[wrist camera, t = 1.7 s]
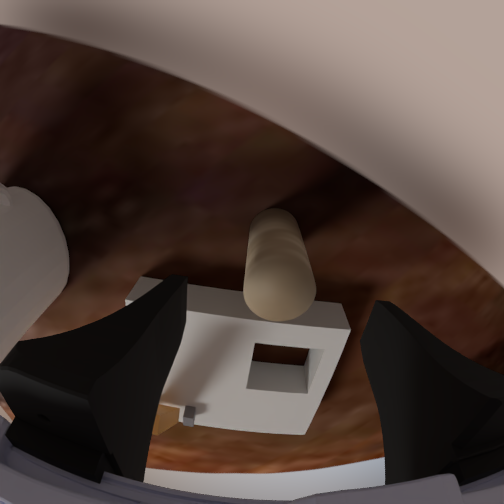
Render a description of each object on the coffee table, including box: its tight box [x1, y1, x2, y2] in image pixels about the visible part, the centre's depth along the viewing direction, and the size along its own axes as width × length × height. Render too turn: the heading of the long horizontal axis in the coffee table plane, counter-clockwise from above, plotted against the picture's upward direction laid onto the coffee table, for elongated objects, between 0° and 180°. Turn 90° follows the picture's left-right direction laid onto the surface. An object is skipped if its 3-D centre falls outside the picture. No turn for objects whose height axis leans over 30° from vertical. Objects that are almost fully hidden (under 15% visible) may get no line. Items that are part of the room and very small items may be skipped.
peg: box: [243, 208, 316, 321], centre depth 16 cm, size 3×3×7 cm
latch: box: [152, 404, 180, 435], centre depth 18 cm, size 2×8×1 cm
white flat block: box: [125, 276, 351, 435], centre depth 22 cm, size 14×12×4 cm
